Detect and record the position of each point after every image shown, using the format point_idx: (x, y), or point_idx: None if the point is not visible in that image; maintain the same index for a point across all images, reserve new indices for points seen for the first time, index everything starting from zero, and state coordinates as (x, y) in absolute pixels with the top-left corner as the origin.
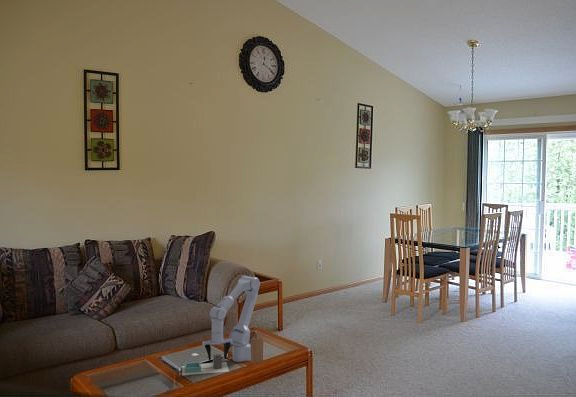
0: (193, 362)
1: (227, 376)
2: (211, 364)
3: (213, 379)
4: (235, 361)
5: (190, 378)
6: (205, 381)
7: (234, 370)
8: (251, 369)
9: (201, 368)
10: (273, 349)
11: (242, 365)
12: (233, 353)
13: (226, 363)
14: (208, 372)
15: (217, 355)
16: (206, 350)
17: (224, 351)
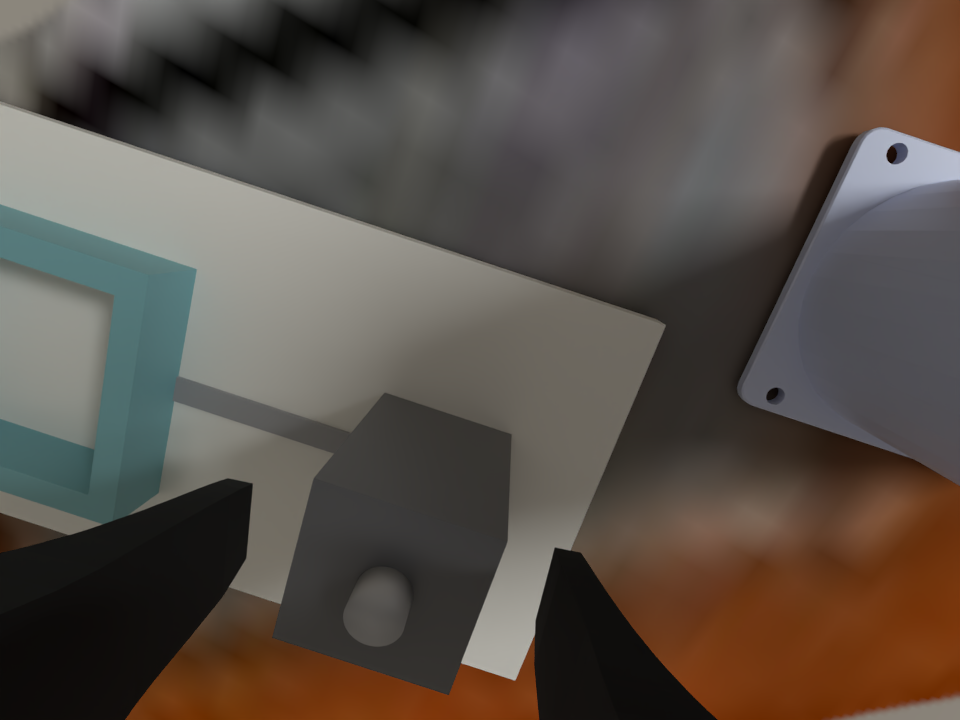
0: (21, 237)
1: (465, 704)
2: (386, 303)
3: (284, 693)
4: (819, 383)
5: (35, 534)
6: (185, 693)
7: (636, 593)
8: (857, 678)
9: (187, 394)
10: None
11: (846, 491)
12: (911, 366)
13: (630, 393)
14: (248, 575)
15: (367, 633)
16: (2, 560)
17: (574, 675)
